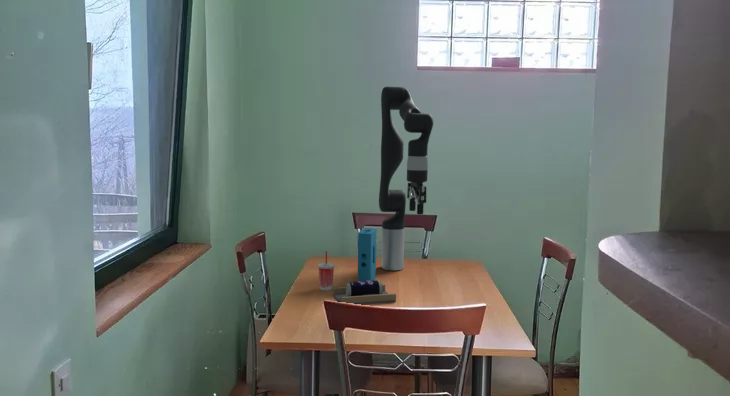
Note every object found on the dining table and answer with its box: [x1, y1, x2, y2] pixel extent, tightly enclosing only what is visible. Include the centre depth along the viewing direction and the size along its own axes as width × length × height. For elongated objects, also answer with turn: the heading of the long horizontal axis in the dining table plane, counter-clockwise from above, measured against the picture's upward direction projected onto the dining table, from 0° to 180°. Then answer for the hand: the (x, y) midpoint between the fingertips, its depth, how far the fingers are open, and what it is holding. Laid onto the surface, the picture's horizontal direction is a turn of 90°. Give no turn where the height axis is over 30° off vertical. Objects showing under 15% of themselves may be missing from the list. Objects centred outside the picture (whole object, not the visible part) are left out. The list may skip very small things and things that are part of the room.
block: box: [357, 227, 377, 281], centre depth 232 cm, size 12×5×20 cm, turn 168°
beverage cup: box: [317, 250, 335, 291], centre depth 223 cm, size 6×6×14 cm
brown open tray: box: [332, 284, 397, 305], centre depth 211 cm, size 13×19×3 cm
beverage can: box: [345, 279, 383, 297], centre depth 210 cm, size 6×6×12 cm
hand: (416, 212), depth 224 cm, fingers open, 8 cm apart
